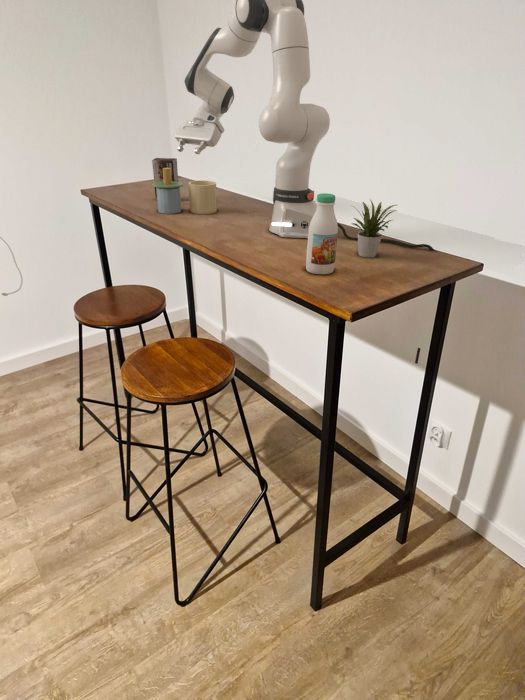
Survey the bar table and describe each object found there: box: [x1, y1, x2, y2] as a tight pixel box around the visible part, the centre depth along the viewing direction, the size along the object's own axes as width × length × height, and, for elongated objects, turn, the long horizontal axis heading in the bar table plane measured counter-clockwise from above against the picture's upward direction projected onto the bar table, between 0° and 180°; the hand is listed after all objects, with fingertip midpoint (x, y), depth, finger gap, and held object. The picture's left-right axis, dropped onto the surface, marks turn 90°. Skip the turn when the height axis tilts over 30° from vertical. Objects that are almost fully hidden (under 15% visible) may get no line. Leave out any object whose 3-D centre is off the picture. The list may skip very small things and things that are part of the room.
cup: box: [156, 187, 182, 215], centre depth 182 cm, size 9×9×9 cm
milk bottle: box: [305, 192, 339, 275], centre depth 124 cm, size 8×8×20 cm
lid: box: [152, 168, 184, 189], centre depth 178 cm, size 11×11×7 cm
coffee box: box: [151, 157, 179, 201], centre depth 199 cm, size 9×6×16 cm
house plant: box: [351, 199, 398, 259], centre depth 138 cm, size 14×14×16 cm
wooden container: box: [188, 180, 218, 215], centre depth 184 cm, size 10×10×10 cm
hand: (187, 151), depth 182 cm, fingers open, 8 cm apart
